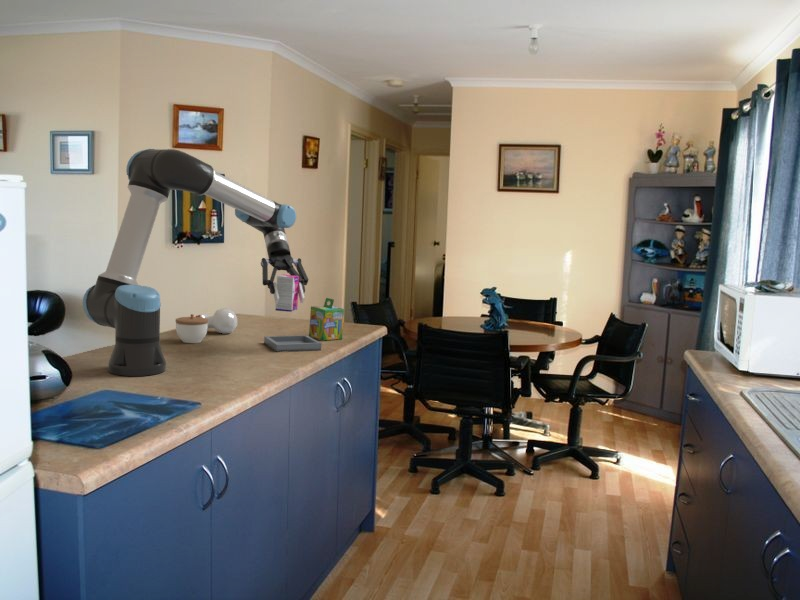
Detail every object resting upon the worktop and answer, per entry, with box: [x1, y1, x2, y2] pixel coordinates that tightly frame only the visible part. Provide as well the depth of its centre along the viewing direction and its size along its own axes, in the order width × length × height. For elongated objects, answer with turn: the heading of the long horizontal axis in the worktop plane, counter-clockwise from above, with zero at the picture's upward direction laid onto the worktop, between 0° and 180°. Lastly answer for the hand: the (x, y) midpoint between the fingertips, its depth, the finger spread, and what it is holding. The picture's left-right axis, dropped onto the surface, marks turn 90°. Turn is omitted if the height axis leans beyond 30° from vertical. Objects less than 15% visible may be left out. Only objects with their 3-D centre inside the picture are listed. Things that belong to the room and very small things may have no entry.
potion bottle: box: [195, 307, 238, 335], centre depth 268 cm, size 9×10×15 cm
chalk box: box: [308, 297, 345, 342], centre depth 268 cm, size 9×9×15 cm
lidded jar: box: [175, 313, 209, 344], centre depth 249 cm, size 11×11×9 cm
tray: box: [263, 334, 322, 353], centre depth 250 cm, size 15×15×2 cm
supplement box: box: [275, 274, 299, 313], centre depth 240 cm, size 6×6×12 cm
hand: (290, 300), depth 238 cm, fingers closed on supplement box, 8 cm apart
